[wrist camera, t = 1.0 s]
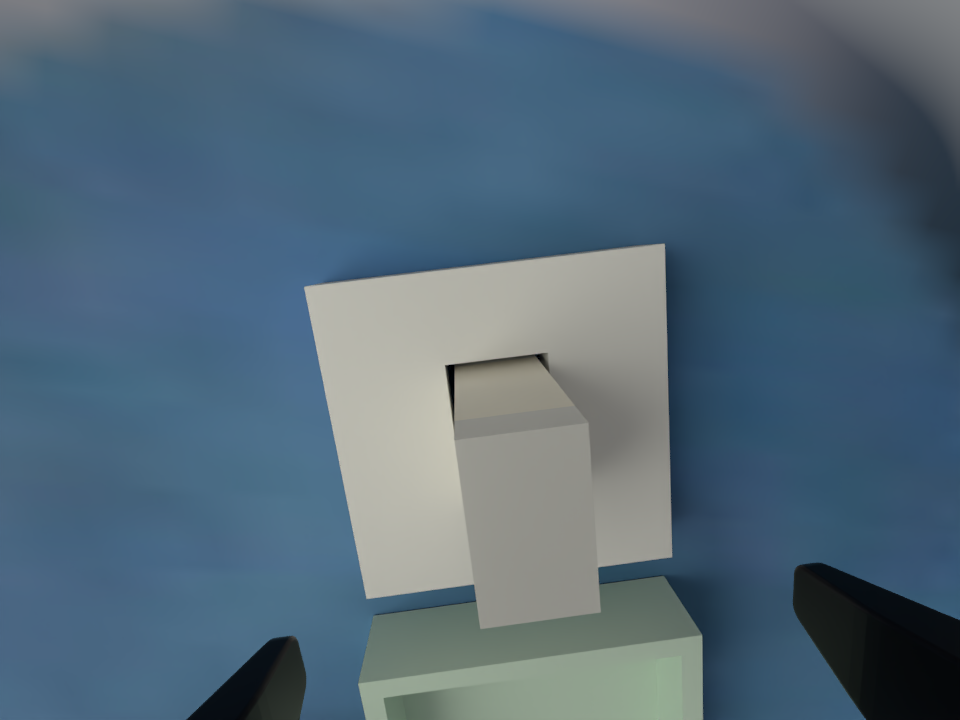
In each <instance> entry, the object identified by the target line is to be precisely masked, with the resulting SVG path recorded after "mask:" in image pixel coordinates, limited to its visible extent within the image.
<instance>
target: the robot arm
mask: <svg viewBox="0 0 960 720" xmlns="http://www.w3.org/2000/svg"><path fill="white" fill-rule="evenodd" d="M793 606H794V610H795V613H796V615H797V618H798V619H799V621H800V622H801V624H802V625H803V627H804V628H805V630H806V632H807V633H808V635H809V636H810V638H811V639H812V641H813V642H814V644H815V645H816V647H817V648H818V650H819V651H820V653H821V654H822V656H823V657H824V659H825V660H826V662H827V663H828V665H829V666H830V668H831V669H832V671H833V672H834V674H835V675H836V677H837V678H838V680H839V681H840V683H841V684H842V686H843V687H844V689H845V690H846V692H847V693H848V695H849V696H850V698H851V699H852V701H853V702H854V703H855V705H856V706H857V708H858V709H859V710H860V712H861V713H862V714H863V716H864V717H865V718H866V720H960V620H958V619H955V618H953V617H950V616H948V615H946V614H943V613H941V612H938V611H936V610H934V609H931V608H929V607H927V606H924V605H922V604H919V603H917V602H915V601H912V600H910V599H907V598H905V597H903V596H900V595H898V594H895V593H893V592H891V591H888V590H886V589H883V588H881V587H879V586H876V585H874V584H871V583H869V582H867V581H864V580H862V579H859V578H857V577H855V576H852V575H850V574H847V573H845V572H843V571H840V570H838V569H835V568H833V567H831V566H828V565H826V564H823V563H810V564H803V565H799V566H797V567H796V569H795V572H794V590H793ZM305 688H306V672H305V668H304V664H303V660H302V656H301V652H300V647H299V643H298V641H297V639H296V637H294V636H286V637H279V638H273V639H271V640H269V641H268V642H267V643H266V644H265V645H264V646H263V647H262V648H261V649H260V650H258V651H257V652H256V653H255V654H254V655H253V656H252V657H251V658H250V659H249V660H248V661H247V662H246V663H245V664H244V665H243V666H242V667H241V668H240V669H239V670H238V671H237V672H236V673H235V674H233V675H232V676H231V677H230V678H229V679H228V680H227V681H226V682H225V683H224V684H223V685H222V686H221V687H220V688H219V689H218V690H217V691H216V692H215V693H214V694H213V695H212V696H211V697H210V698H208V699H207V700H206V701H205V702H204V703H203V704H202V705H201V706H200V707H199V708H198V709H197V710H196V711H195V712H194V713H193V714H192V715H191V716H190V717H189V718H188V719H187V720H299V719H300V714H301V709H302V704H303V699H304V694H305Z"/></svg>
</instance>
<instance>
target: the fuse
mask: <svg viewBox="0 0 960 720" xmlns="http://www.w3.org/2000/svg"><path fill="white" fill-rule="evenodd" d="M454 441H455V449H456V456H457V463H458V470H459V478H460V485H461V492H462V500H463V507H464V514H465V521H466V529H467V536H468V543H469V550H470V558H471V565H472V572H473V580H474V587H475V594H476V601H477V609H478V616H479V623H480V629H486V628H493V627H500V626H507V625H514V624H521V623H529V622H536V621H543V620H550V619H557V618H564V617H572V616H579V615H586V614H593V613H600V612H601V607H600V592H599V576H598V561H597V546H596V530H595V515H594V500H593V485H592V469H591V454H590V439H589V423H588V422H587V420H586V419H585V418H584V417H583V415H582V414H581V413H580V412H579V410H578V409H577V408H576V407H575V405H574V404H573V403H572V401H571V400H570V399H569V398H568V396H567V395H566V394H565V393H564V391H563V390H562V389H561V388H560V386H559V385H558V384H557V382H556V381H555V380H554V379H553V377H552V376H551V375H550V374H549V372H548V371H547V370H546V369H545V367H544V366H543V365H542V364H541V362H540V361H539V360H538V358H537V357H536V356H535V355H534V354H532V355H524V356H516V357H508V358H500V359H492V360H484V361H476V362H468V363H460V364H455V403H454Z"/></svg>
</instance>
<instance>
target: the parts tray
mask: <svg viewBox="0 0 960 720" xmlns="http://www.w3.org/2000/svg"><path fill="white" fill-rule="evenodd" d="M599 592H600V607H601V612H600V613H593V614H586V615H579V616H572V617H564V618H557V619H550V620H543V621H536V622H529V623H521V624H514V625H507V626H500V627H493V628H486V629H480V623H479V616H478V609H477V602H470V603H463V604H456V605H448V606H441V607H434V608H426V609H419V610H412V611H405V612H397V613H390V614H383V615H376V616H373V621H372V625H371V629H370V634H369V638H368V643H367V647H366V652H365V656H364V660H363V665H362V669H361V674H360V678H359V682H358V685H359V690H360V694H361V699H362V704H363V708H364V713H365V717H366V720H703V660H702V634H701V632H700V631H699V629H698V628H697V626H696V625H695V623H694V621H693V620H692V618H691V617H690V615H689V614H688V612H687V611H686V609H685V608H684V606H683V605H682V603H681V601H680V600H679V598H678V597H677V595H676V594H675V592H674V591H673V589H672V588H671V586H670V585H669V583H668V581H667V580H666V578H665V577H664V576H659V577H651V578H644V579H637V580H630V581H622V582H615V583H608V584H601V585H599Z"/></svg>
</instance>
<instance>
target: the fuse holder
mask: <svg viewBox="0 0 960 720" xmlns="http://www.w3.org/2000/svg"><path fill="white" fill-rule="evenodd" d="M304 289H305V294H306V299H307V303H308V308H309V313H310V318H311V323H312V328H313V333H314V338H315V343H316V348H317V353H318V358H319V363H320V368H321V373H322V378H323V383H324V388H325V393H326V398H327V403H328V408H329V413H330V418H331V423H332V428H333V433H334V438H335V443H336V448H337V453H338V458H339V463H340V468H341V473H342V478H343V483H344V488H345V493H346V498H347V503H348V508H349V513H350V518H351V523H352V528H353V533H354V538H355V543H356V548H357V553H358V558H359V563H360V568H361V573H362V578H363V583H364V588H365V593H366V598H367V599H370V598H377V597H385V596H392V595H399V594H407V593H414V592H421V591H429V590H436V589H443V588H451V587H458V586H465V585H472V584H474V580H473V572H472V565H471V558H470V550H469V543H468V536H467V529H466V521H465V514H464V507H463V500H462V492H461V485H460V478H459V470H458V463H457V456H456V449H455V441H454V409H453V401H452V394H451V387H450V379H449V372H448V365H452V364H460V363H468V362H476V361H484V360H492V359H500V358H508V357H516V356H524V355H532V354H539V359H540V362H541V364H542V365H543V366H544V367H545V369H546V370H547V371H548V372H549V374H550V375H551V376H552V377H553V379H554V380H555V381H556V382H557V384H558V385H559V386H560V388H561V389H562V390H563V391H564V393H565V394H566V395H567V396H568V398H569V399H570V400H571V401H572V403H573V404H574V405H575V407H576V408H577V409H578V410H579V412H580V413H581V414H582V415H583V417H584V418H585V419H586V420H587V422H588V423H589V439H590V454H591V469H592V485H593V500H594V515H595V530H596V546H597V561H598V567H604V566H611V565H619V564H626V563H633V562H641V561H648V560H655V559H662V558H670V557H672V528H671V486H670V443H669V400H668V358H667V315H666V272H665V244H650V245H637V246H629V247H620V248H612V249H604V250H595V251H587V252H578V253H570V254H562V255H553V256H545V257H536V258H528V259H520V260H511V261H503V262H495V263H486V264H478V265H469V266H461V267H453V268H444V269H436V270H428V271H419V272H411V273H402V274H394V275H386V276H377V277H369V278H361V279H352V280H344V281H335V282H327V283H320V284H315V285H310V286H306V287H304Z"/></svg>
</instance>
